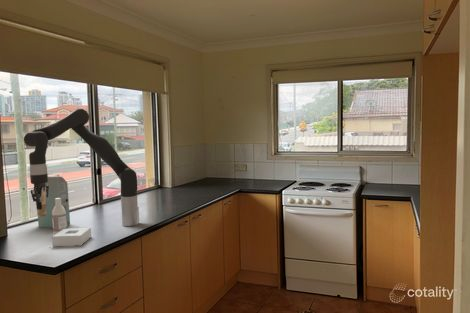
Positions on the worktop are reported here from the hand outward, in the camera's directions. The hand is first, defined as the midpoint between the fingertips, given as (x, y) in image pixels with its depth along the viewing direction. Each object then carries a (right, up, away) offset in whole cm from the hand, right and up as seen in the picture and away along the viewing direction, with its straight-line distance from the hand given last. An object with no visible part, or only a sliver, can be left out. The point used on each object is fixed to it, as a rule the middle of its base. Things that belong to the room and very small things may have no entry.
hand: (41, 208), depth 186 cm
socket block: (+11, -18, +9) cm, 23 cm away
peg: (0, -4, 0) cm, 4 cm away
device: (-14, -16, +42) cm, 47 cm away
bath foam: (-1, -18, +23) cm, 29 cm away
